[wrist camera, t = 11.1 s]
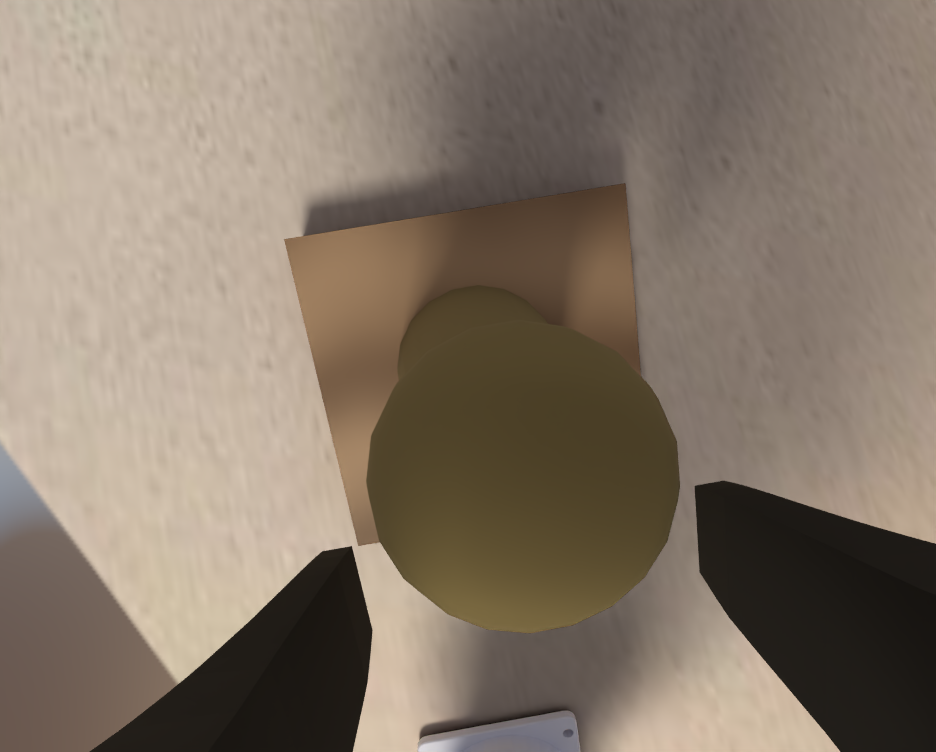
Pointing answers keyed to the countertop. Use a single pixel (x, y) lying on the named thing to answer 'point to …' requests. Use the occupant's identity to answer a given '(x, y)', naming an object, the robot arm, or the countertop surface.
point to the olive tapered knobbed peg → (518, 466)
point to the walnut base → (437, 272)
